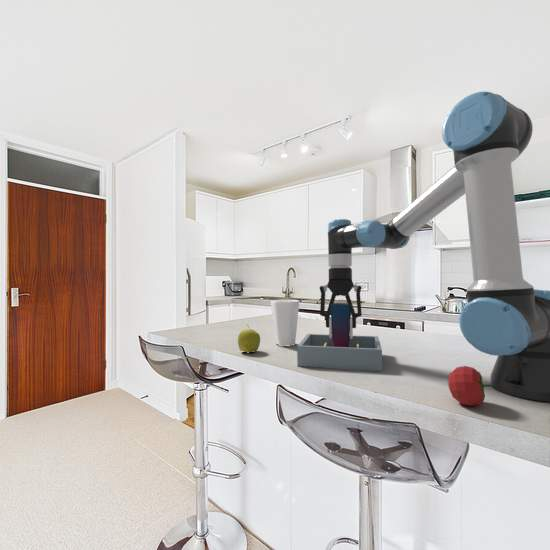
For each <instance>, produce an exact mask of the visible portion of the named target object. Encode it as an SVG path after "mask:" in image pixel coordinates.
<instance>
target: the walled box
mask: <svg viewBox="0 0 550 550" xmlns="http://www.w3.org/2000/svg"><path fill="white" fill-rule="evenodd" d="M296 346H297V347H296V350H297V351H296V352H297V353H296V354H297V355H296V356H297V357H296V358H297V366H298V365H299V366H298V367H301V366H312V367H311V368H318V367H322V368H323V369H335V370H337V369H339V370H357V371H373V372H375V371H376V372H383V348H382V345H381V342H380V338H379V335H354V334H353V339H350V340H349V347H333V335H332V338H329V334H323V333H322V334H321V333H318V334H317V333H307V334H306V335H305V336H304V337H303V338H302V340H301V341H300V342H299V344H298V345H296ZM322 368H321V369H322Z"/></svg>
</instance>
